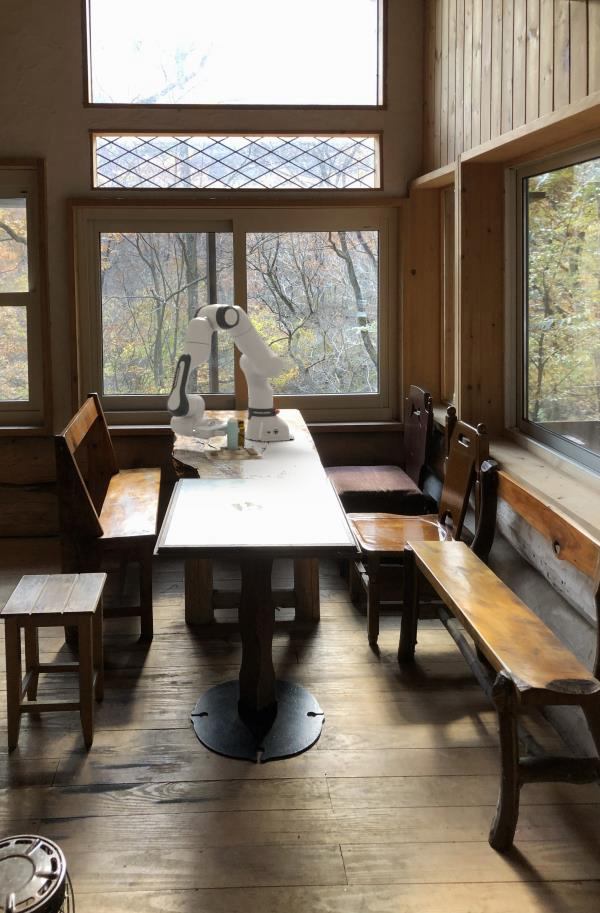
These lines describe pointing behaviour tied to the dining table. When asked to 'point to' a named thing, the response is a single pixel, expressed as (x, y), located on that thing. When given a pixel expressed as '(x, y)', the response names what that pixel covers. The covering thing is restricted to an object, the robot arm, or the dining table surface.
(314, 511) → the dining table surface
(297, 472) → the dining table surface
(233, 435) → the roll-on deodorant
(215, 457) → the jig
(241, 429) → the condiment
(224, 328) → the robot arm
